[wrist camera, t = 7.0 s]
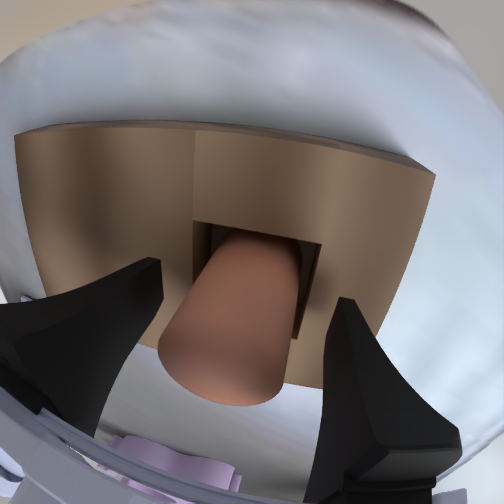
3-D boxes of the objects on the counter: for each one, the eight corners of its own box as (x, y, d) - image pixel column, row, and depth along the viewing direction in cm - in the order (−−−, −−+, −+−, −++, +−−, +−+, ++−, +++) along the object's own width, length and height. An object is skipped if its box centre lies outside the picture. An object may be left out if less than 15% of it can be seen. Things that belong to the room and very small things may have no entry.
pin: (219, 283, 16) (165, 387, 10) (223, 212, 14) (150, 305, 8) (294, 298, 15) (273, 415, 9) (309, 227, 13) (296, 339, 7)
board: (74, 284, 20) (50, 307, 17) (50, 125, 14) (14, 135, 11) (345, 354, 17) (345, 392, 14) (412, 158, 11) (435, 174, 8)
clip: (224, 454, 29) (208, 501, 23) (249, 483, 35) (238, 520, 29) (105, 425, 35) (86, 458, 29) (143, 460, 40) (130, 489, 34)
